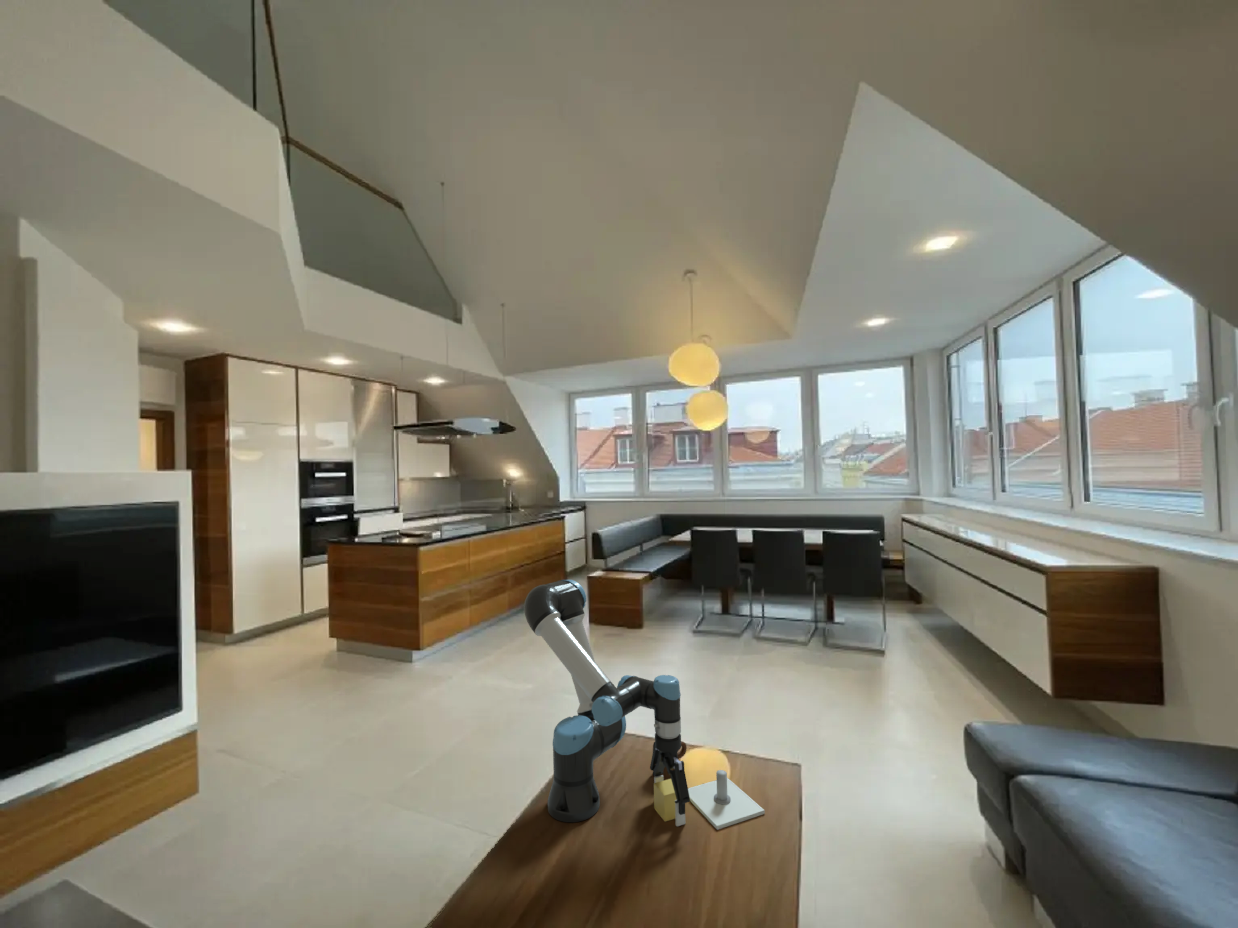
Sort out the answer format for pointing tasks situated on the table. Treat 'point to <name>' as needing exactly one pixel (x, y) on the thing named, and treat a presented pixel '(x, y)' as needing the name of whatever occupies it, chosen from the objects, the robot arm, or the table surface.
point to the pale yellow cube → (665, 799)
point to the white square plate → (723, 802)
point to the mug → (679, 754)
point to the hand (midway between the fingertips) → (669, 811)
